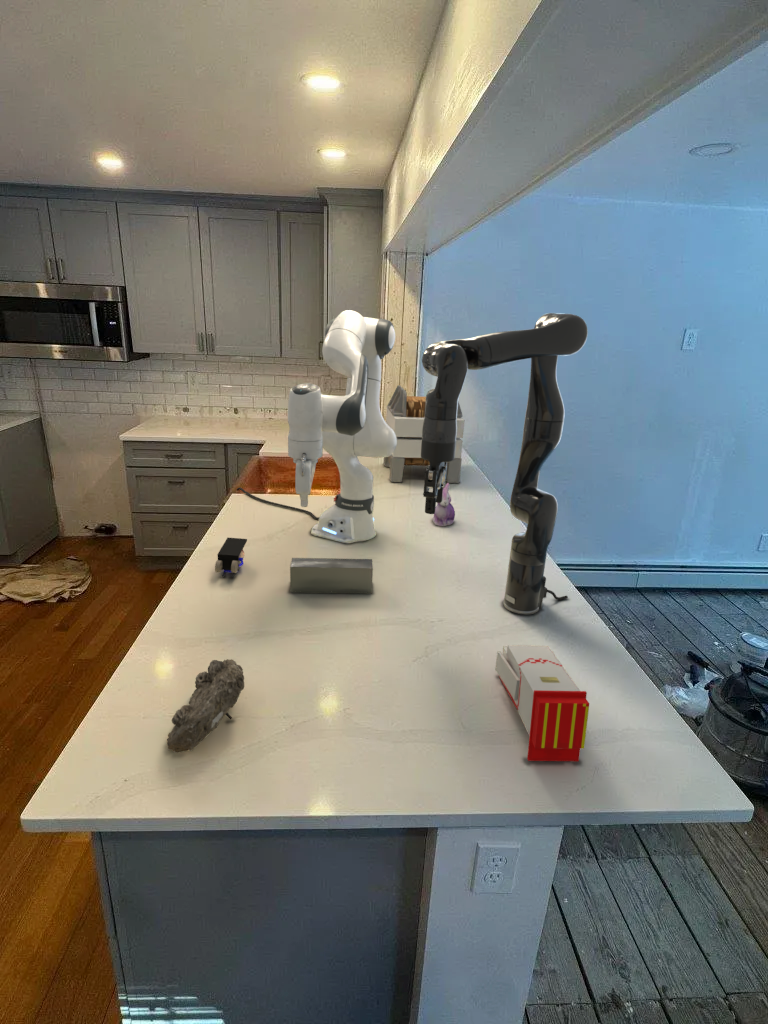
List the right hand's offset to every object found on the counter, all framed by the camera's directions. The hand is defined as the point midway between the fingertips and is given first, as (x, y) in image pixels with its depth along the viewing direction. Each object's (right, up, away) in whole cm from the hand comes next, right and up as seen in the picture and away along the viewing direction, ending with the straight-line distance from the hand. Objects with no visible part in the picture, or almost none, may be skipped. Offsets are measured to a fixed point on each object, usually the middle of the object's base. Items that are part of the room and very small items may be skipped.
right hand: (433, 507), depth 130 cm
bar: (-26, -22, +30) cm, 45 cm away
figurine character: (-56, -18, +38) cm, 70 cm away
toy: (+18, -41, -16) cm, 48 cm away
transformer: (+6, +18, +145) cm, 146 cm away
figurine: (+11, -5, +83) cm, 84 cm away
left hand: (-32, +2, +20) cm, 38 cm away
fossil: (-44, -40, -22) cm, 64 cm away
